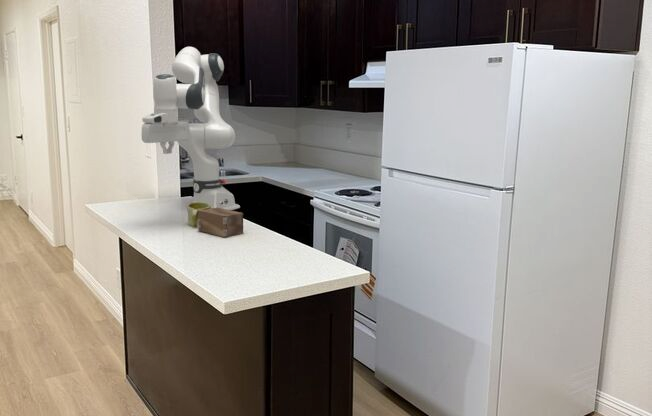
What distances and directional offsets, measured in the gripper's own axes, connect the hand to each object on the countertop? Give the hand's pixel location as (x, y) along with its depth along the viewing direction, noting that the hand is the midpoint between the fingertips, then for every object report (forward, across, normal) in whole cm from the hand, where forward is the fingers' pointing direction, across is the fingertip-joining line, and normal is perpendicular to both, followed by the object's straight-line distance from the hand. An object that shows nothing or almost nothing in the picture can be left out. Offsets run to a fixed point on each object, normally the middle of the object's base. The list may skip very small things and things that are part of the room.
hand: (167, 153), depth 229 cm
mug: (+29, -9, +6) cm, 31 cm away
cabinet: (+29, -9, +22) cm, 37 cm away
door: (+29, -3, +22) cm, 37 cm away
